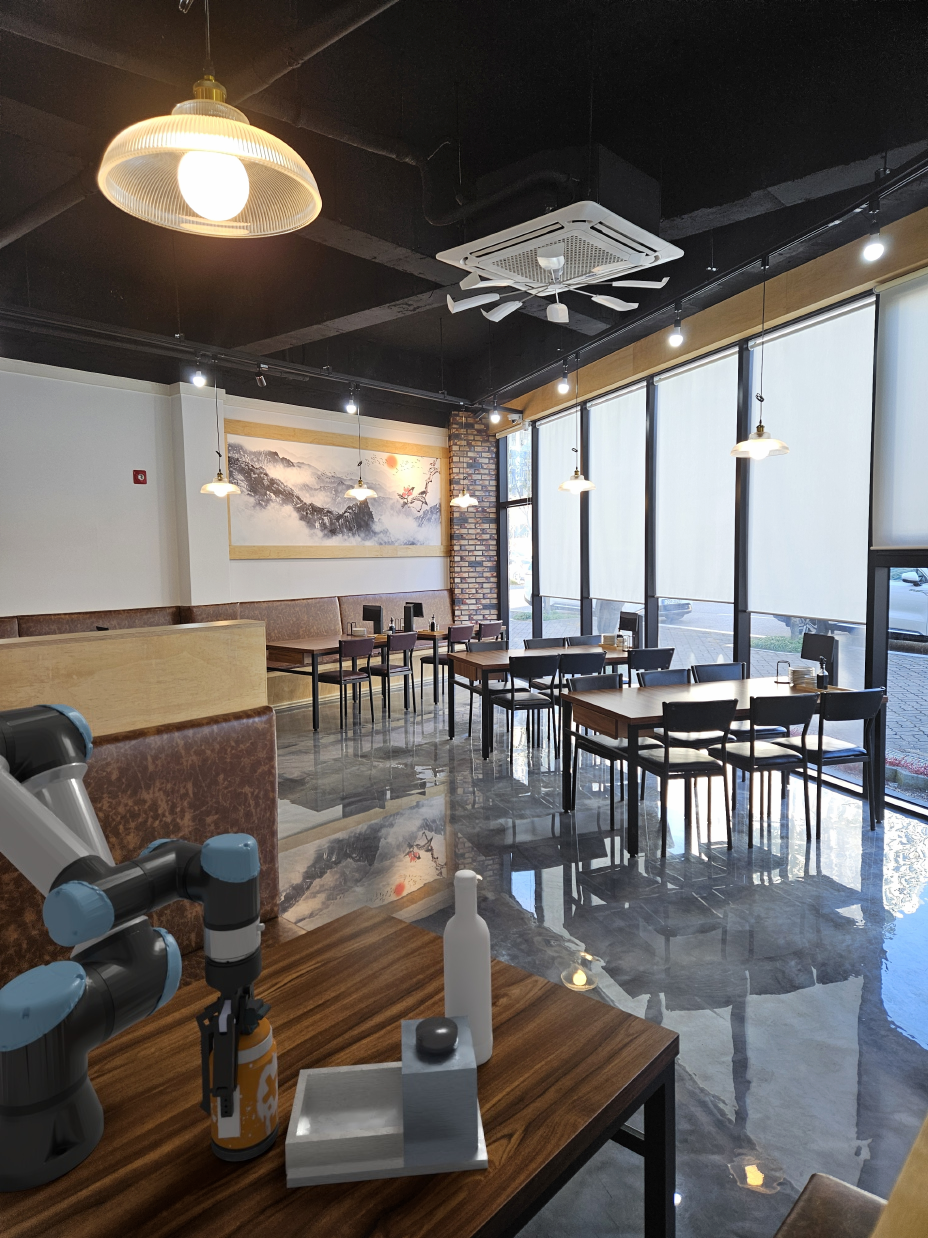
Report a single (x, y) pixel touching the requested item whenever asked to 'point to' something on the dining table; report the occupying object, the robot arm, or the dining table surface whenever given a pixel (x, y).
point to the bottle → (469, 966)
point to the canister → (244, 1083)
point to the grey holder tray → (390, 1112)
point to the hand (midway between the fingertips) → (237, 1109)
